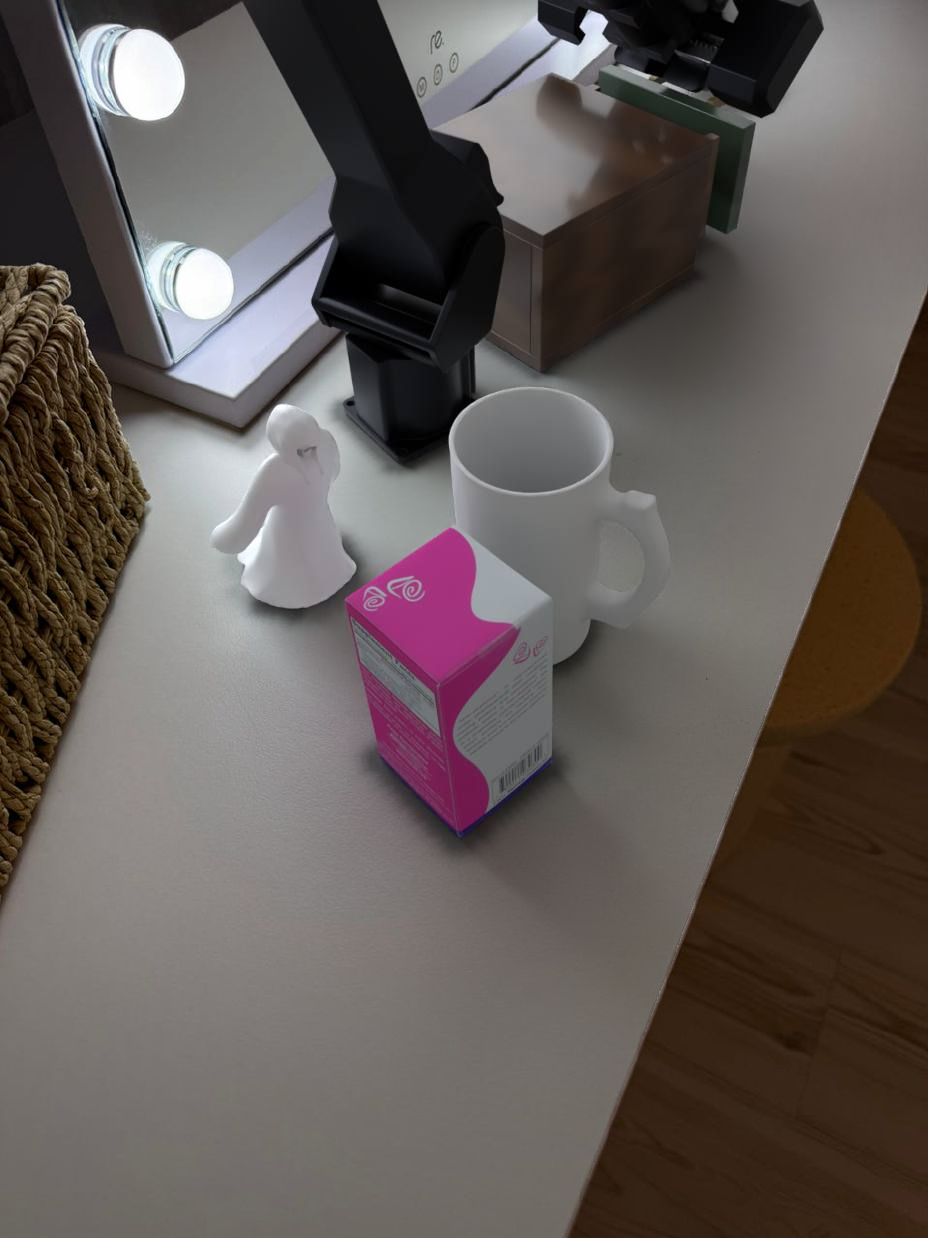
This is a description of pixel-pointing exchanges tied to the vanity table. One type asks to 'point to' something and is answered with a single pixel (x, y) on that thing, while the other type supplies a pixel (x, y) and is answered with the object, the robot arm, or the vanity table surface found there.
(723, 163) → the drawer
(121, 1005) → the vanity table surface
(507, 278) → the cabinet
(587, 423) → the mug
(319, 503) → the figurine
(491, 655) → the supplement box
